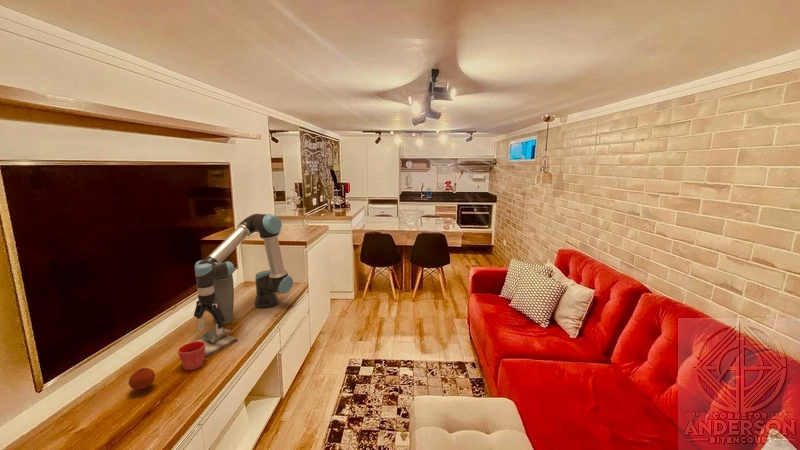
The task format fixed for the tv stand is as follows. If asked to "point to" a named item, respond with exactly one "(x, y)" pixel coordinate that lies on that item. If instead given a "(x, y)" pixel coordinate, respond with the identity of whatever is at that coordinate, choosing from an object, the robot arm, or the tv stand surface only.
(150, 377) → the fruit
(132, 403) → the tv stand surface
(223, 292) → the vase
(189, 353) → the flower pot
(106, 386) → the tv stand surface
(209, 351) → the stand
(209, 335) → the packaged food
